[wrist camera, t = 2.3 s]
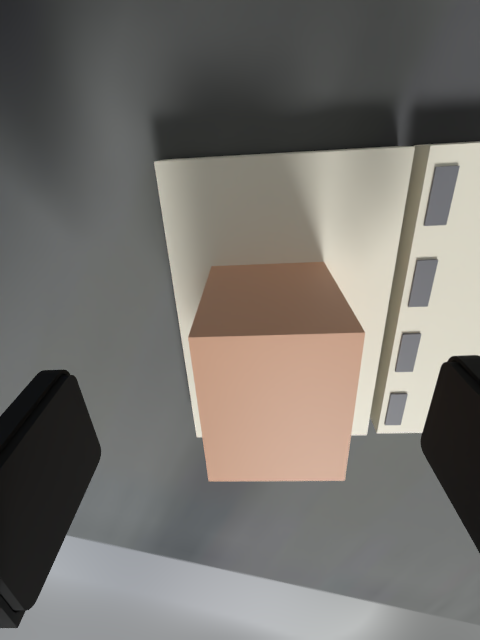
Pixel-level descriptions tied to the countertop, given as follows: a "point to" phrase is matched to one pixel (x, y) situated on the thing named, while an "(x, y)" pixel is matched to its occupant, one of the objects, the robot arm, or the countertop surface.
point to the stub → (283, 300)
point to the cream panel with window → (431, 285)
